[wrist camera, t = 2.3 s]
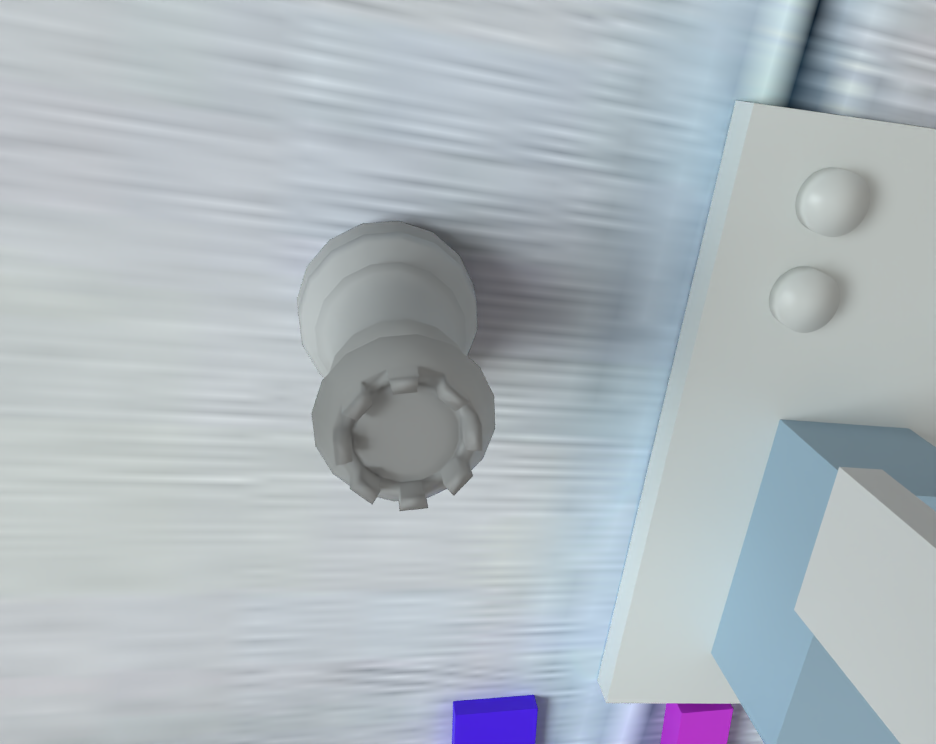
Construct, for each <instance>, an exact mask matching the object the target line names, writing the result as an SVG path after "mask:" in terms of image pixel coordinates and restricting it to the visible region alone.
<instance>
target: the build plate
mask: <svg viewBox="0 0 936 744" xmlns="http://www.w3.org/2000/svg"><path fill="white" fill-rule="evenodd" d="M780 419H782V420H796V421H810V422H824V423H838V424H853V425H867V426H881V427H895V428H909V429H910V430H912V431H913V432H915V433H916V434H917V435H919V436H920V437H922V438H923V439H925V440H926V441H927V442H929V443H930V444H932V445H933V446H935V447H936V129H934V128H927V127H920V126H913V125H906V124H899V123H892V122H885V121H878V120H871V119H864V118H857V117H850V116H843V115H836V114H829V113H822V112H815V111H808V110H801V109H794V108H787V107H780V106H773V105H766V104H759V103H752V102H745V101H738V100H736V101H735V105H734V109H733V113H732V118H731V122H730V126H729V130H728V134H727V139H726V143H725V147H724V151H723V155H722V159H721V164H720V168H719V172H718V176H717V180H716V185H715V189H714V193H713V197H712V201H711V206H710V210H709V214H708V218H707V222H706V227H705V231H704V235H703V239H702V243H701V248H700V252H699V256H698V260H697V264H696V268H695V273H694V277H693V281H692V285H691V289H690V294H689V298H688V302H687V306H686V310H685V315H684V319H683V323H682V327H681V331H680V336H679V340H678V344H677V348H676V352H675V357H674V361H673V365H672V369H671V373H670V377H669V382H668V386H667V390H666V394H665V398H664V403H663V407H662V411H661V415H660V419H659V424H658V428H657V432H656V436H655V440H654V445H653V449H652V453H651V457H650V461H649V466H648V470H647V474H646V478H645V482H644V486H643V491H642V495H641V499H640V503H639V507H638V512H637V516H636V520H635V524H634V528H633V533H632V537H631V541H630V545H629V549H628V554H627V558H626V562H625V566H624V570H623V575H622V579H621V583H620V587H619V591H618V596H617V600H616V604H615V608H614V612H613V616H612V621H611V625H610V629H609V633H608V637H607V642H606V646H605V650H604V654H603V658H602V663H601V667H600V671H599V675H598V679H597V681H598V683H599V686H600V688H601V691H602V694H603V696H604V699H605V701H606V703H701V704H741V703H740V701H739V700H738V698H737V696H736V695H735V693H734V691H733V689H732V688H731V686H730V684H729V683H728V681H727V679H726V678H725V676H724V674H723V673H722V671H721V669H720V667H719V666H718V664H717V662H716V661H715V659H714V657H713V656H712V654H711V651H712V647H713V644H714V641H715V637H716V634H717V631H718V627H719V624H720V620H721V617H722V614H723V610H724V607H725V603H726V600H727V597H728V593H729V590H730V587H731V583H732V580H733V576H734V573H735V570H736V566H737V563H738V559H739V556H740V553H741V549H742V546H743V543H744V539H745V536H746V532H747V529H748V526H749V522H750V519H751V515H752V512H753V509H754V505H755V502H756V499H757V495H758V492H759V488H760V485H761V482H762V478H763V475H764V471H765V468H766V465H767V461H768V458H769V455H770V451H771V448H772V444H773V441H774V438H775V434H776V431H777V427H778V424H779V421H780Z"/></svg>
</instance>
